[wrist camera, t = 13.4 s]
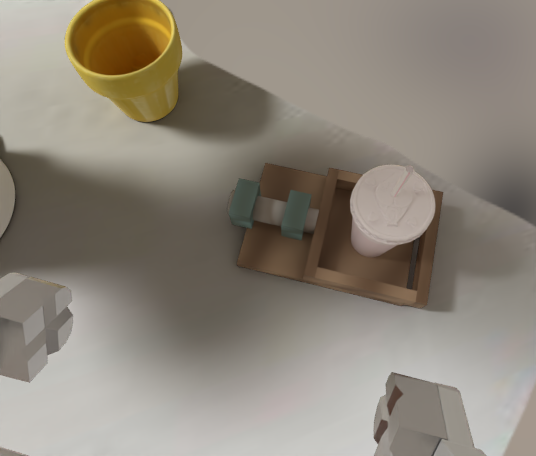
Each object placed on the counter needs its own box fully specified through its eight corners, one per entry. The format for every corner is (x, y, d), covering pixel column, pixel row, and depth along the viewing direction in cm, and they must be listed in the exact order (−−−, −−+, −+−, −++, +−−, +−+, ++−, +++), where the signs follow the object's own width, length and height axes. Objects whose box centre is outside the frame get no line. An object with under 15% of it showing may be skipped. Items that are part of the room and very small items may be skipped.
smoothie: (404, 212, 44) (458, 139, 31) (402, 275, 42) (458, 227, 29) (339, 204, 44) (364, 129, 31) (333, 266, 42) (357, 215, 29)
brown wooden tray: (217, 261, 44) (211, 249, 40) (247, 163, 47) (244, 143, 43) (417, 309, 42) (431, 302, 38) (433, 204, 45) (447, 187, 41)
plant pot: (140, 45, 53) (110, -27, 43) (213, 83, 51) (197, 16, 41) (85, 109, 50) (40, 48, 41) (158, 152, 48) (129, 98, 39)
